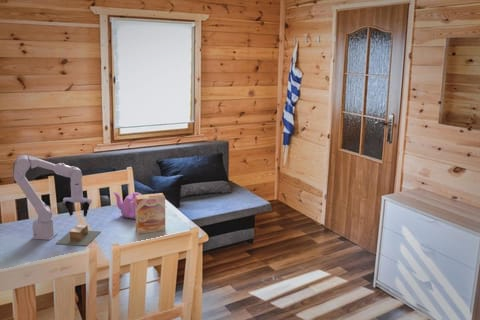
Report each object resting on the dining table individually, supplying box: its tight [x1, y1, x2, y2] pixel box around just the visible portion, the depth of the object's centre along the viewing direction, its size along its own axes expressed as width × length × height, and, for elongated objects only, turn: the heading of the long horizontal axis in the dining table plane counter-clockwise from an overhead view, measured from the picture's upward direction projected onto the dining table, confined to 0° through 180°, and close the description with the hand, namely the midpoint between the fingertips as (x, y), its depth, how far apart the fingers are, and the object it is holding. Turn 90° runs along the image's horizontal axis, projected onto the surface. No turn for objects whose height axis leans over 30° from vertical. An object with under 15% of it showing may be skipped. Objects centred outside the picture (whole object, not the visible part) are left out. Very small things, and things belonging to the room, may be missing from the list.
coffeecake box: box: [135, 192, 166, 235], centre depth 251 cm, size 15×7×20 cm, turn 112°
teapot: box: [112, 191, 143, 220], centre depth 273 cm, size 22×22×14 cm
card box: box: [69, 223, 89, 241], centre depth 241 cm, size 10×5×5 cm, turn 174°
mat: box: [55, 230, 102, 247], centre depth 241 cm, size 16×18×1 cm
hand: (78, 215), depth 246 cm, fingers open, 7 cm apart
